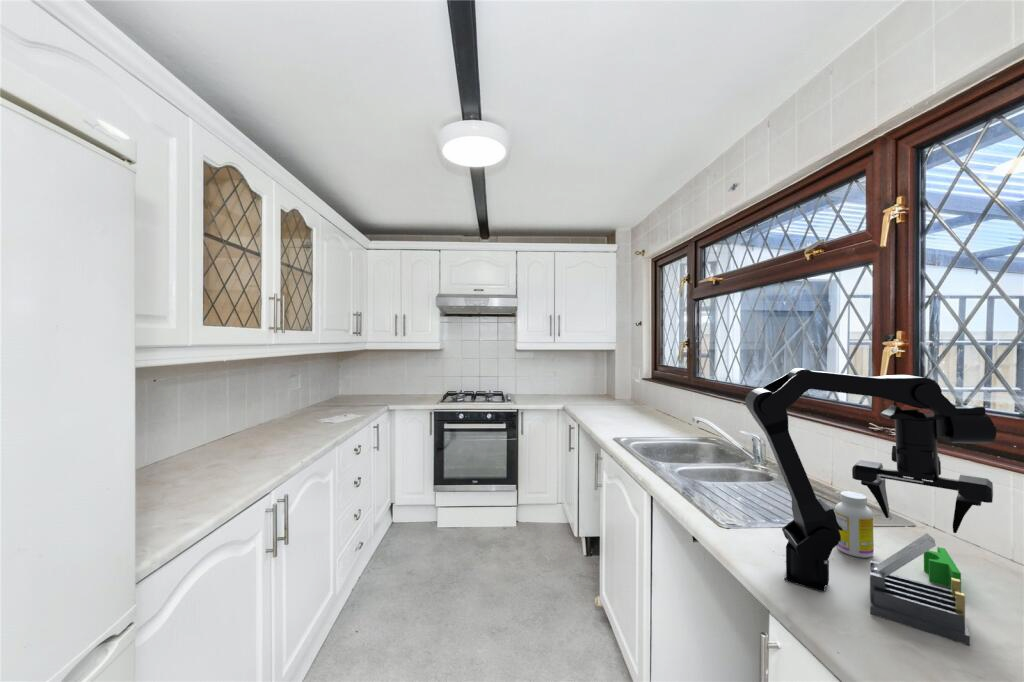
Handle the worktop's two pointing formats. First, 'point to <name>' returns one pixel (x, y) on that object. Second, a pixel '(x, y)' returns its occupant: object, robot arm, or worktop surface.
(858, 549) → the supplement bottle
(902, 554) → the silver metal bar
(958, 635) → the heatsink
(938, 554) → the pipe clamp
